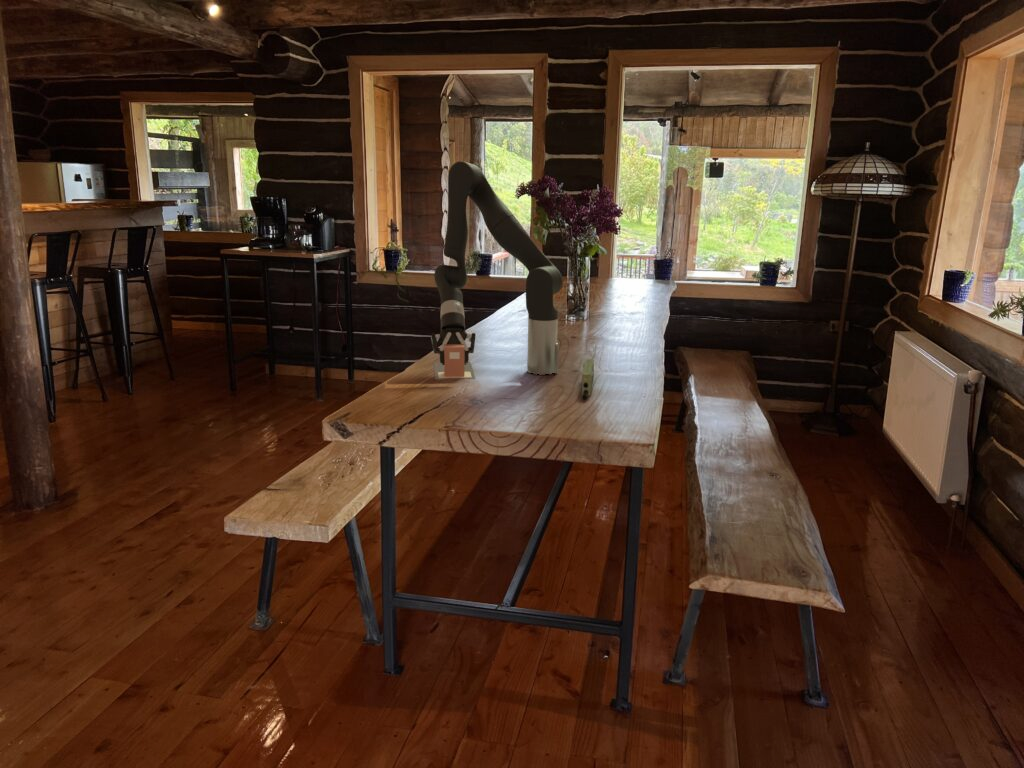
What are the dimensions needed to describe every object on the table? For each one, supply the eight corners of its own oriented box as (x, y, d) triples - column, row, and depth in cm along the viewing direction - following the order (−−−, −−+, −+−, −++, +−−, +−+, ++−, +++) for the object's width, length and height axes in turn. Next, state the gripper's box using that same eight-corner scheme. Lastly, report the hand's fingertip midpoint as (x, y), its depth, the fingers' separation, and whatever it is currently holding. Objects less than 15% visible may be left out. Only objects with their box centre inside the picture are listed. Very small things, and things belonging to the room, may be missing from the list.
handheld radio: (594, 379, 225) (591, 402, 201) (584, 379, 225) (579, 401, 201) (594, 358, 223) (591, 378, 199) (584, 358, 224) (579, 378, 200)
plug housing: (463, 372, 225) (463, 344, 223) (464, 376, 221) (464, 347, 219) (444, 372, 225) (443, 344, 222) (444, 376, 220) (444, 347, 218)
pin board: (470, 364, 240) (470, 353, 239) (475, 381, 219) (475, 369, 218) (433, 365, 239) (433, 353, 238) (435, 382, 217) (435, 370, 216)
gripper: (429, 311, 224) (430, 357, 216) (476, 311, 226) (479, 356, 218) (429, 325, 231) (430, 370, 222) (474, 324, 233) (477, 369, 224)
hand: (454, 363), depth 220 cm, fingers closed on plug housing, 6 cm apart
